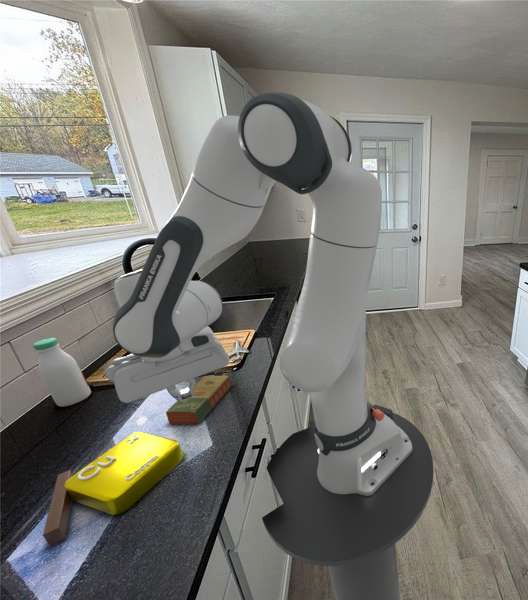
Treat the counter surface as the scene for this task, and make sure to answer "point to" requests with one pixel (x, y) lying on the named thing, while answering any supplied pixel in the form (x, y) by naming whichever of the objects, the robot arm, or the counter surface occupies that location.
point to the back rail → (58, 511)
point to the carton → (199, 400)
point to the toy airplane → (237, 351)
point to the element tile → (124, 472)
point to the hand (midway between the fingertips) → (187, 397)
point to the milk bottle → (60, 373)
